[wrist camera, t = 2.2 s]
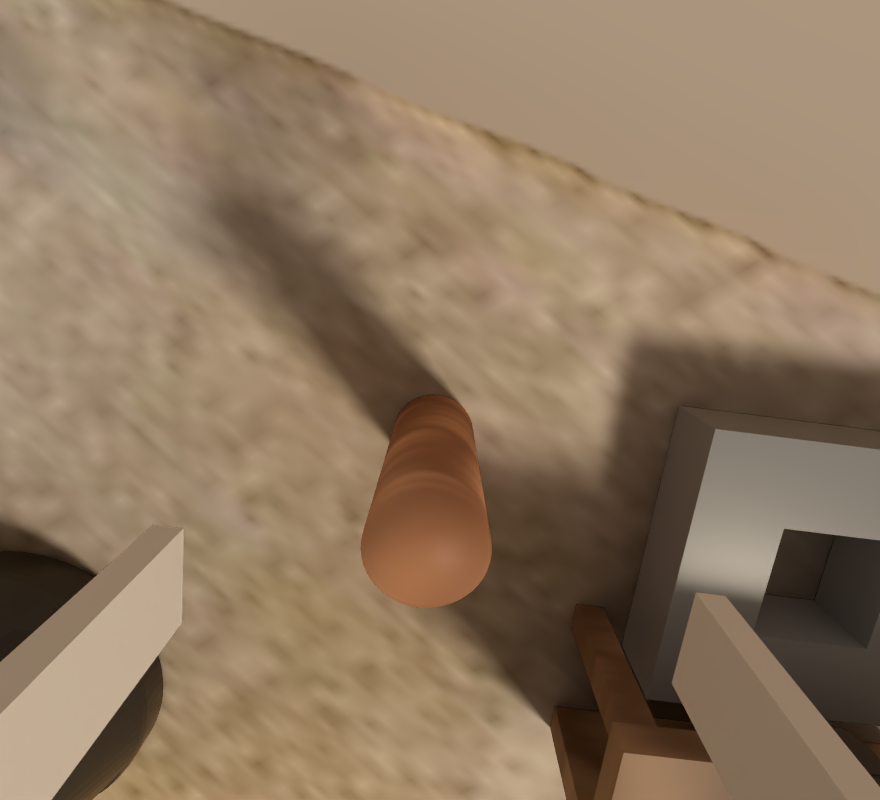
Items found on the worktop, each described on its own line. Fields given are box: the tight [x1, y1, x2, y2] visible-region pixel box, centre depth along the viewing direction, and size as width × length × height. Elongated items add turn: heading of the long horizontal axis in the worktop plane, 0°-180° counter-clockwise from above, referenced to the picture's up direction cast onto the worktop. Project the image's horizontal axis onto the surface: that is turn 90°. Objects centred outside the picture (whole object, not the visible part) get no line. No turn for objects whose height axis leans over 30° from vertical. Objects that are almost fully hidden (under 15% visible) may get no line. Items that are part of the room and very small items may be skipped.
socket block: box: [622, 406, 880, 726], centre depth 29 cm, size 14×14×4 cm
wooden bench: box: [551, 604, 880, 800], centre depth 28 cm, size 21×8×10 cm, turn 83°
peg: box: [361, 395, 492, 608], centre depth 23 cm, size 4×4×12 cm
